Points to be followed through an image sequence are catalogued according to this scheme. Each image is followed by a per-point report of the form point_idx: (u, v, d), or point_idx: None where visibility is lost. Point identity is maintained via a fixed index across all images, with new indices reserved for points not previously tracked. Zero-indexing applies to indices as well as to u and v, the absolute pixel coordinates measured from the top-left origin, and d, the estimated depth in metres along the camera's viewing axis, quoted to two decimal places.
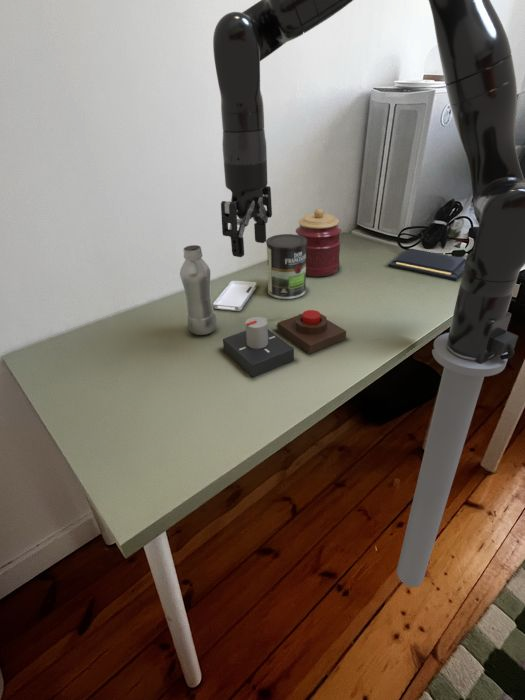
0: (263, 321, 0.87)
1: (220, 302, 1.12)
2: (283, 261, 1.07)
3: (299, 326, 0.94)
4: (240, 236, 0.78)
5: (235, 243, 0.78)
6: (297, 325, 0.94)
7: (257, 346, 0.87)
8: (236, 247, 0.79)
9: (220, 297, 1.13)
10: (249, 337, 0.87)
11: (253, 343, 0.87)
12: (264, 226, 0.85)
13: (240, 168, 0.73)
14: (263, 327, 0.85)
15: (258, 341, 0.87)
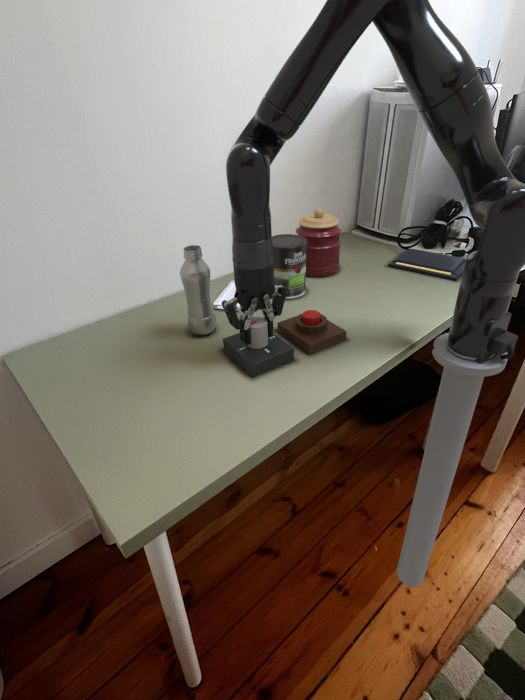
0: (263, 321, 0.87)
1: (220, 302, 1.12)
2: (283, 261, 1.07)
3: (299, 326, 0.94)
4: (245, 328, 0.84)
5: (242, 333, 0.86)
6: (297, 325, 0.94)
7: (257, 346, 0.87)
8: (242, 336, 0.86)
9: (220, 297, 1.13)
10: None
11: (253, 343, 0.87)
12: (269, 323, 0.87)
13: (240, 271, 0.78)
14: (263, 327, 0.85)
15: (258, 341, 0.87)
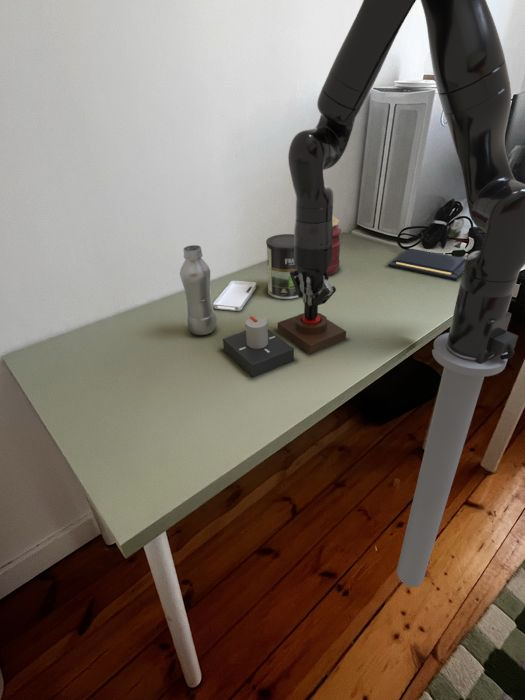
0: (256, 325, 0.85)
1: (220, 302, 1.12)
2: (283, 261, 1.07)
3: (299, 326, 0.94)
4: (303, 301, 0.93)
5: None
6: (297, 325, 0.94)
7: None
8: (305, 308, 0.94)
9: (220, 297, 1.13)
10: None
11: None
12: (307, 306, 0.92)
13: None
14: (247, 327, 0.86)
15: (246, 337, 0.88)
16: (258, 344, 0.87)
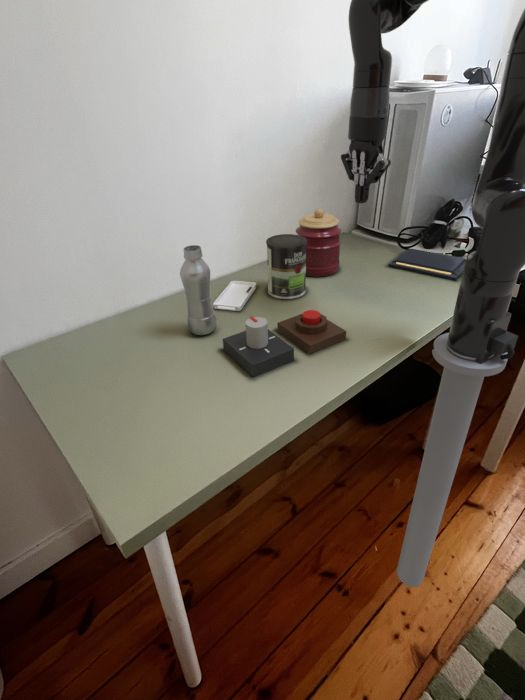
0: (256, 325, 0.85)
1: (220, 302, 1.12)
2: (283, 261, 1.07)
3: (299, 326, 0.94)
4: (355, 182, 0.94)
5: None
6: (297, 325, 0.94)
7: None
8: None
9: (220, 297, 1.13)
10: None
11: None
12: (359, 187, 0.93)
13: None
14: (247, 327, 0.86)
15: (246, 337, 0.88)
16: (258, 344, 0.87)
